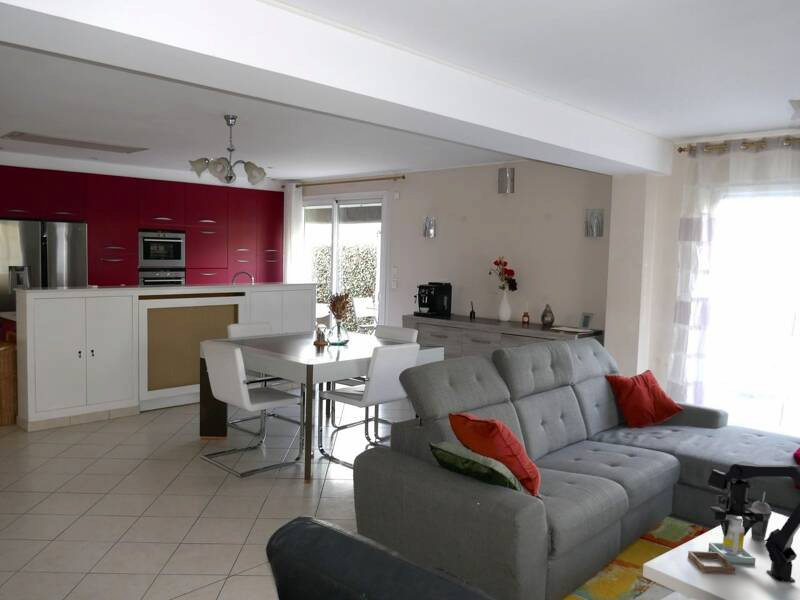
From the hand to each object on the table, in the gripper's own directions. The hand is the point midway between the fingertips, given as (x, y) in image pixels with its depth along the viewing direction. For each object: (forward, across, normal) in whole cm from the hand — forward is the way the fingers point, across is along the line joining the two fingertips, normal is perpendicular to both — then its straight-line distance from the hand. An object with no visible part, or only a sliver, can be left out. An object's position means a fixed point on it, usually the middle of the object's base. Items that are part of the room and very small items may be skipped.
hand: (733, 536), depth 239 cm
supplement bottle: (+6, 0, 0) cm, 6 cm away
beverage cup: (+8, -20, -16) cm, 27 cm away
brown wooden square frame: (+8, +12, +8) cm, 17 cm away
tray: (+8, 0, 0) cm, 8 cm away
